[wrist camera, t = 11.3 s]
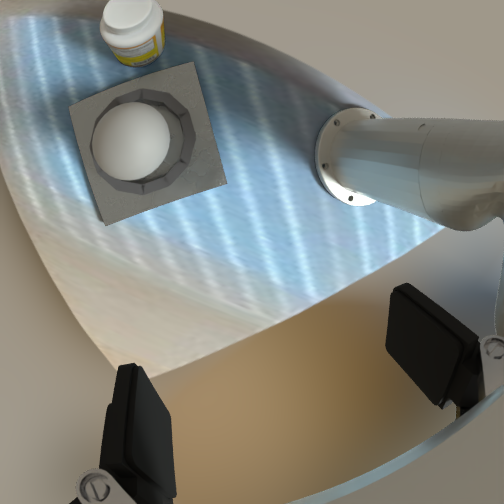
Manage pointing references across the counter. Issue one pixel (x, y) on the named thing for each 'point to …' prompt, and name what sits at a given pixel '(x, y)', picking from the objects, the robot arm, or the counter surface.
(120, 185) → the socket
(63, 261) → the counter surface
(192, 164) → the plate
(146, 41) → the supplement bottle
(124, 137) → the lightbulb
